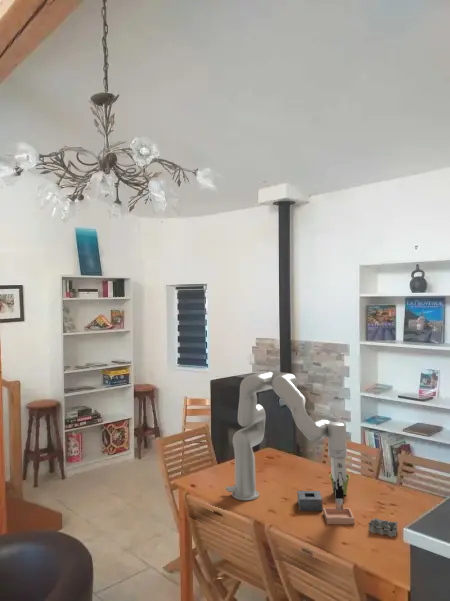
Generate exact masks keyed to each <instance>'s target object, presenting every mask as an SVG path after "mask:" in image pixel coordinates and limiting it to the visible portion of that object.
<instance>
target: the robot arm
mask: <svg viewBox="0 0 450 601" xmlns="http://www.w3.org/2000/svg"><path fill="white" fill-rule="evenodd" d="M298 385H299V381H298V378H297V376H295V375H294V374H292V373H289V372H282V371H281V372H280V371H269V370H268V371H262V372H259V373H258V372H257V373H254V374H250V375H248V376H246V377H243V379H242V380H241V382H240V386H239V401H238V408H237V424H239V426H241V427H242V428H241V429H239V430H237V431H236V432H235V433H234V434H233V435H232V436H233V437H232V445H233V451H234V480H235V481H234V482H235V483H234V485H232V486H225V491H228V493H231V497H232V498H234V499H235V500H239V501H252V500H256V499H257V498H259V495H260V493H259V491H257V490H256V456H255V453H254V450H253V447H255V446H257V445H259V444H260V443H262V442H263V440H264V438H265V437H264V436H265V430H266V429H265V428H266V427H265V425H266V418H267V417H266V411H265V408H264V407H263V405H261V404H260V403H258V395H257V393H259V392H260V393H261V392H263V391H264V392H265V391H269V390H273V391H274V393H275V394H276V395H277V396H278V397H279V399H280V400H281V401H282V402H283V403H284V404H285V405H286V407H287V408H288V409H289V410H290V412H291V415H292V419H293V421H294V423H295V425H296V427H297V428H298V429H299V431H300V432H301V434H303V435H304V437H306V438H307V439H308V440H309V441H311V442H320V440H322V439H326V438H327V450H328V453H327V454H328V457H329V458H330V467H331V470H330V471H331V473H332V477H333V479H334V484H336V489H334V493H333V495H335V492H336V499H343V500H344V496H345V495H344V493H343V481H344V482H346V481H347V479H346V474H347V468H346V458H347V457H348V454H347V451H348V450H347V429H346V428H347V426H346V424H344V423H343V422H338V421H335V422H333V421H331V420H327V419H318V420H316V421H314V420H313V419H312V418H311V417H310V416H309V414H308V413H307V409H306V401H307V400H306V399H307V398H306V396H304V395H303V393H301V391H300V390H299V389H298Z"/></svg>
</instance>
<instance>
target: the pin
mask: <svg viewBox="0 0 450 601" xmlns="http://www.w3.org/2000/svg"><path fill="white" fill-rule="evenodd" d="M334 489H336V484H334ZM334 498H335V500H334V502H335V508H336V510H337V511H343V508H344V498H343V499H336V492H335V494H334Z"/></svg>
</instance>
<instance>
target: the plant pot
mask: <svg viewBox="0 0 450 601" xmlns="http://www.w3.org/2000/svg"><path fill="white" fill-rule="evenodd" d="M350 477H351V476H350V475H349V474H348V473H346V479H347V481H346V482H344V481H343V493H344V496H346V495H347V492H348V484H349V480H350ZM329 478H330V480H331V486H332V487H331V488H332V493H333V494H334V479H333V477H332V472H331V473H330V474H329Z"/></svg>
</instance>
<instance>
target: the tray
mask: <svg viewBox="0 0 450 601" xmlns="http://www.w3.org/2000/svg"><path fill="white" fill-rule="evenodd" d="M322 512H323V517H324V520H325V522H326V525H355V522H356V521H355V517H354V514H353V513H352V510H351V507H343V511H337V510H336V507H323V511H322Z"/></svg>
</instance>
